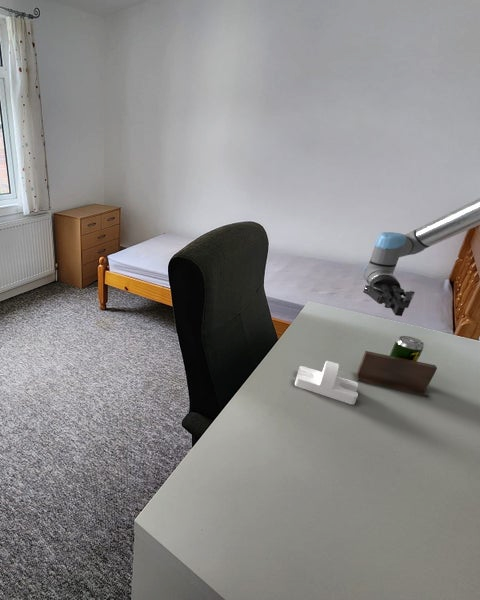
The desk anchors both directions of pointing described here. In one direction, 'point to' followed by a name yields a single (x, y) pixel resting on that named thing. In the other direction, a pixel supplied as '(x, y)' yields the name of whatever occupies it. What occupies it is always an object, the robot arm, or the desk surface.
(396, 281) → the robot arm
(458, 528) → the desk surface
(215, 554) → the desk surface
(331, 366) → the slotted bracket
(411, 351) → the beer can
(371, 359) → the wall board
